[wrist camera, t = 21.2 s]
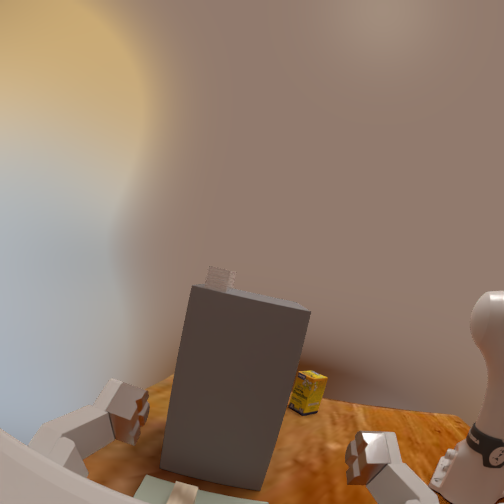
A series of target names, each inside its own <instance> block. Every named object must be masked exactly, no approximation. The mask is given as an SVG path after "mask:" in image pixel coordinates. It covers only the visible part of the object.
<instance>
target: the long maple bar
mask: <svg viewBox="0 0 504 504" xmlns="http://www.w3.org/2000/svg"><path fill="white" fill-rule="evenodd" d="M197 491H198V487H197V486H193V485H189V484H185V483H182V482H178V481H176V483H175V485H174V487H173V490H172V492H171V494H170V497H169V499H168V501H167V503H166V504H195V500H196V496H197Z"/></svg>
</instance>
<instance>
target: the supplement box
mask: <svg viewBox="0 0 504 504" xmlns="http://www.w3.org/2000/svg"><path fill="white" fill-rule="evenodd" d="M327 379H328V378H327V377H324V376H322V375H320V374H318V373H316V372H314V371H300V372H298V375H297V378H296V382H295V386H294V389H293V393H292V396H291V400H290V403H289V408H291V409H293V410H295V411H296V412H298V413H300V414H301V415H302V416H305V415H310V414H314V413H317V412H318V409H319V406H320V402H321V399H322V396H323V392H324V389H325V386H326V383H327Z"/></svg>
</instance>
